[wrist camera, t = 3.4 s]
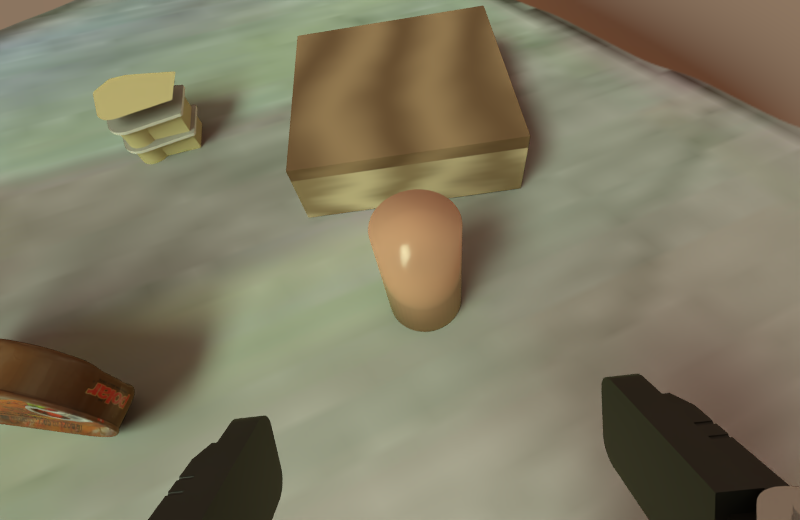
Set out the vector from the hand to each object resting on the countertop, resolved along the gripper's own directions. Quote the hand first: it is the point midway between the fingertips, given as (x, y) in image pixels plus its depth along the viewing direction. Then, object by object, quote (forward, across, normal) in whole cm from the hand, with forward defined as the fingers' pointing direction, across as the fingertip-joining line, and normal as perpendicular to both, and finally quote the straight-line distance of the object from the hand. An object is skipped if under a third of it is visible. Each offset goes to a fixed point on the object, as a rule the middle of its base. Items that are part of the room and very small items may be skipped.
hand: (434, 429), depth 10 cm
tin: (+15, +24, +5) cm, 29 cm away
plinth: (+28, 0, -9) cm, 30 cm away
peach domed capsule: (+17, 0, +2) cm, 17 cm away
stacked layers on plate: (+31, +21, -11) cm, 39 cm away
